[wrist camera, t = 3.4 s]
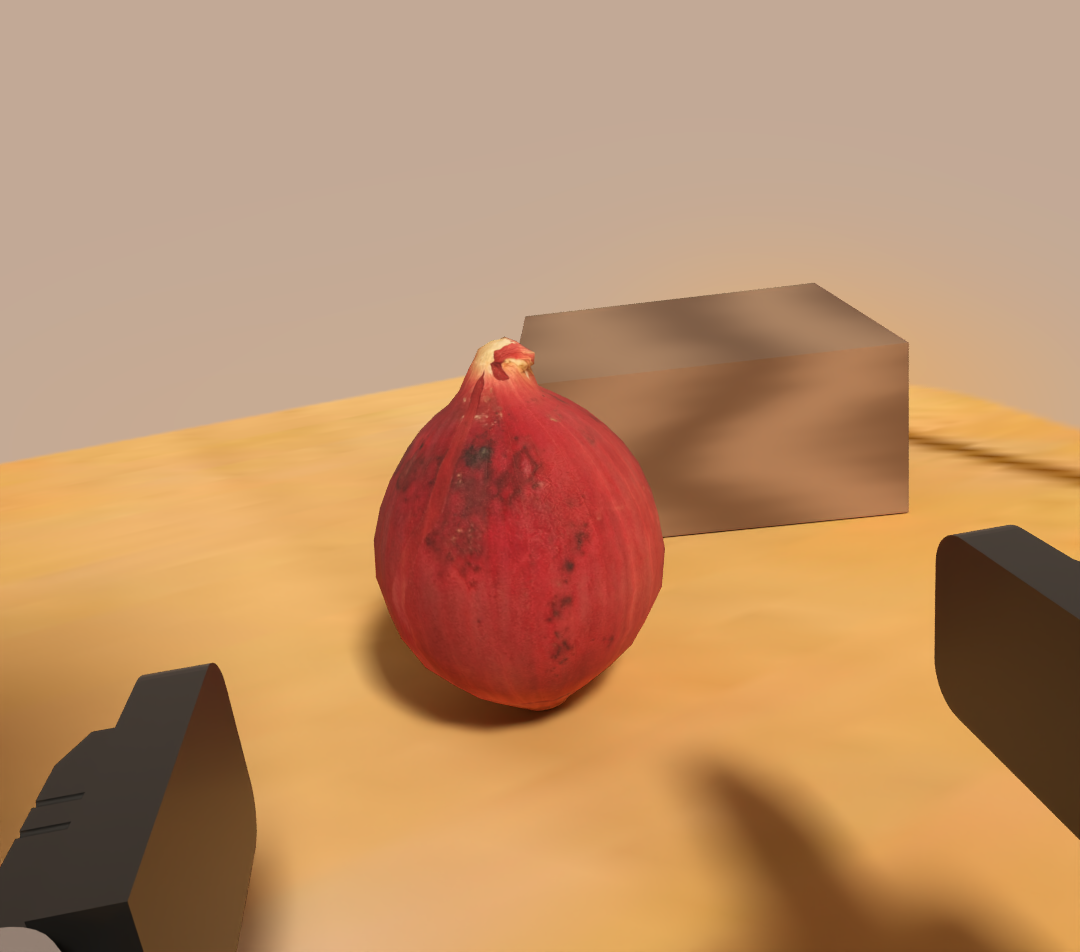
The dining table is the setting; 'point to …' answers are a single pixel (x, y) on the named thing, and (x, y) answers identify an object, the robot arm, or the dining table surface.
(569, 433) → the onion
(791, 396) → the walnut block
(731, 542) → the dining table surface
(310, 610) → the dining table surface
